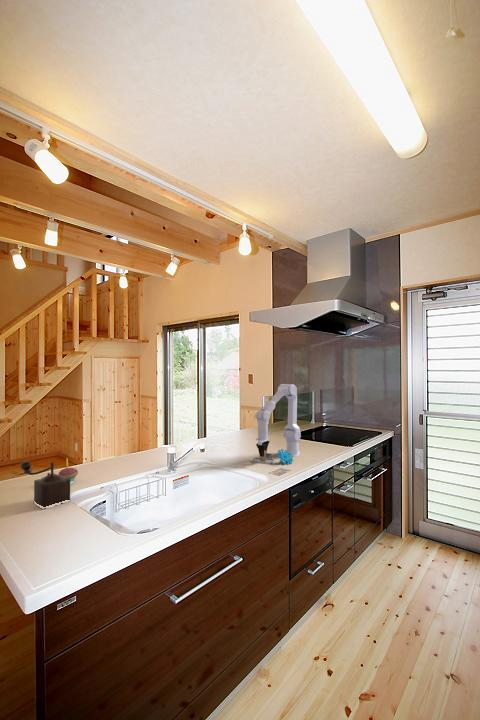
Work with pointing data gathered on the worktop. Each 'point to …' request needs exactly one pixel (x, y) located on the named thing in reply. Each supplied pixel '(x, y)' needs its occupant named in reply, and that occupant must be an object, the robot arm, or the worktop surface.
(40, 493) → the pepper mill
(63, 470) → the cupcake
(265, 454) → the oak pin
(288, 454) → the gear
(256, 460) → the grey tray
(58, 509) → the worktop surface
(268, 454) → the charcoal cup
